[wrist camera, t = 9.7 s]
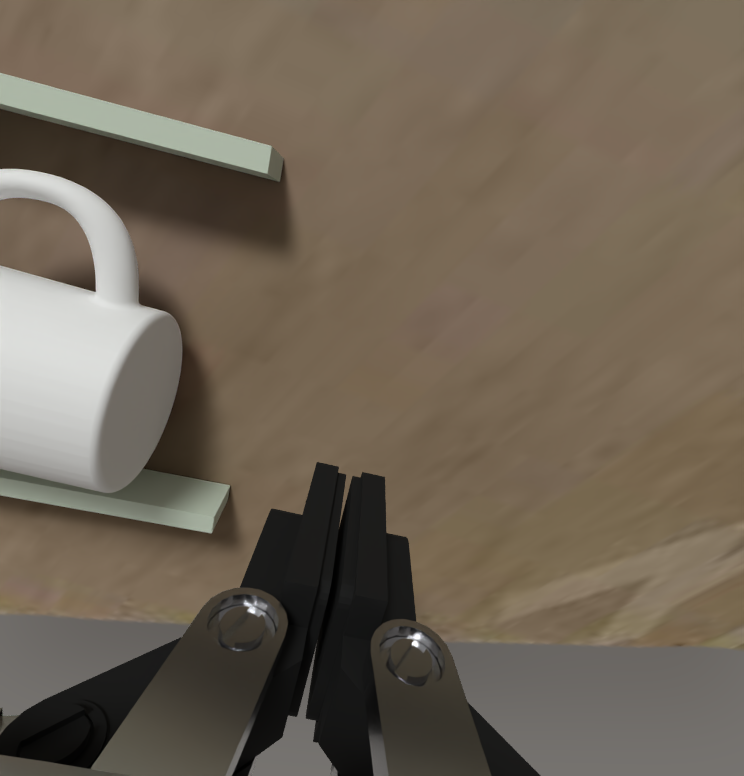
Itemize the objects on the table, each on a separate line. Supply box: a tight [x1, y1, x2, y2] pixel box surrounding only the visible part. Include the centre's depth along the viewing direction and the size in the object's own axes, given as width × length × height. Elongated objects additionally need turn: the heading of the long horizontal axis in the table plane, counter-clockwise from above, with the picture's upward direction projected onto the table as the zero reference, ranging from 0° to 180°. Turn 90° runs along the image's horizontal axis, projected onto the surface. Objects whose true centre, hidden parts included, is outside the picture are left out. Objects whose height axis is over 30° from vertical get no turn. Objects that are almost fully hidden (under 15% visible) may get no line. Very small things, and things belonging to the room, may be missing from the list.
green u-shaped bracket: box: [0, 73, 284, 533], centre depth 21 cm, size 15×18×3 cm
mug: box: [0, 169, 182, 493], centre depth 19 cm, size 12×10×8 cm
